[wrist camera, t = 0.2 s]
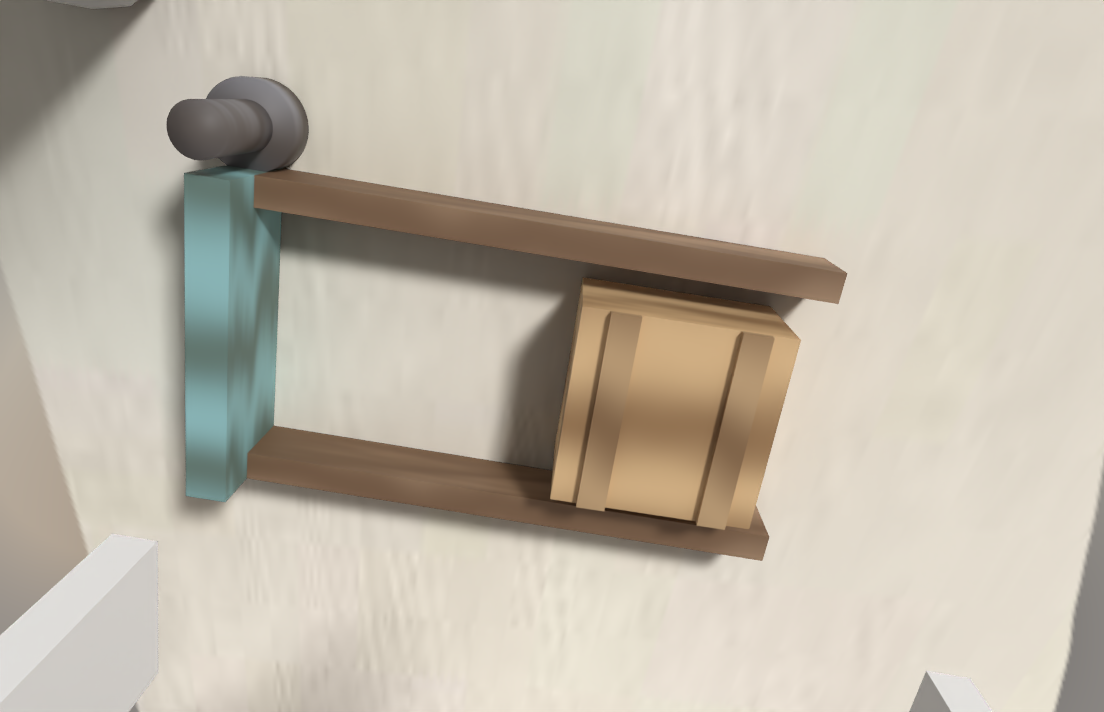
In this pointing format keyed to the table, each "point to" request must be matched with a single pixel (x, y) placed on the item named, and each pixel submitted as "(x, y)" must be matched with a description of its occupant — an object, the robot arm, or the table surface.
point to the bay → (268, 190)
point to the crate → (670, 403)
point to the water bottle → (97, 3)
